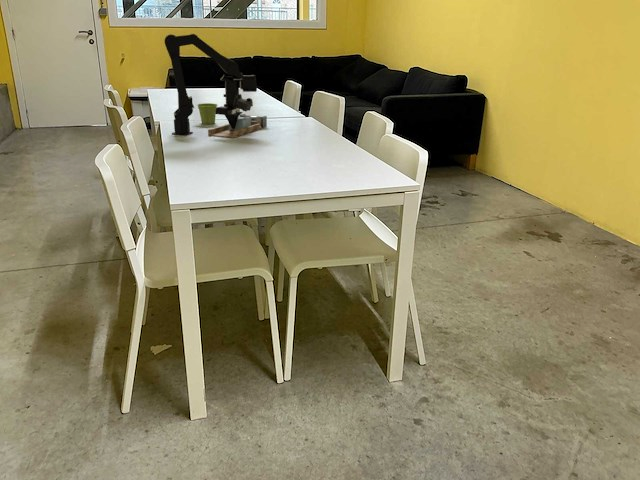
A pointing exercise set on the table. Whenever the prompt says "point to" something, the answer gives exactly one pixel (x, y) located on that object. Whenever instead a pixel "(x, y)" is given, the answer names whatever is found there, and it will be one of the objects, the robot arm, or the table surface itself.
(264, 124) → the winch drum
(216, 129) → the brown tray
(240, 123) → the grey box
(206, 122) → the plant pot
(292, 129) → the table surface
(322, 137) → the table surface
